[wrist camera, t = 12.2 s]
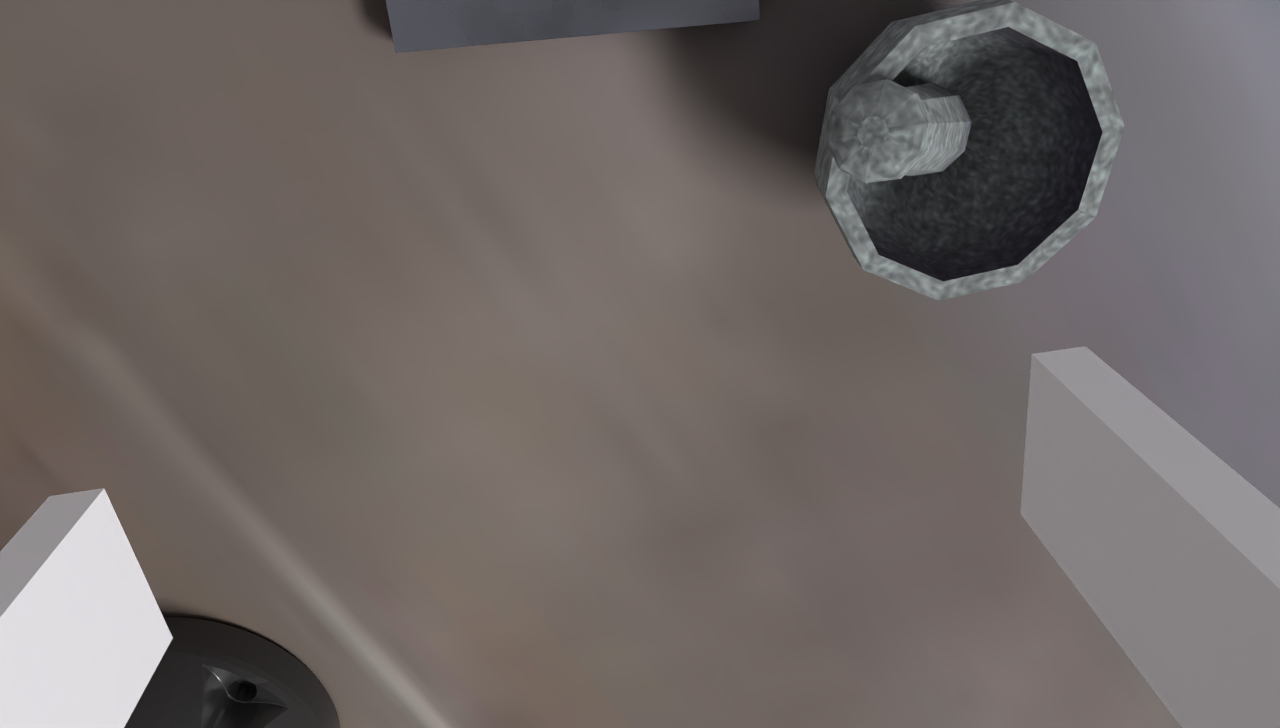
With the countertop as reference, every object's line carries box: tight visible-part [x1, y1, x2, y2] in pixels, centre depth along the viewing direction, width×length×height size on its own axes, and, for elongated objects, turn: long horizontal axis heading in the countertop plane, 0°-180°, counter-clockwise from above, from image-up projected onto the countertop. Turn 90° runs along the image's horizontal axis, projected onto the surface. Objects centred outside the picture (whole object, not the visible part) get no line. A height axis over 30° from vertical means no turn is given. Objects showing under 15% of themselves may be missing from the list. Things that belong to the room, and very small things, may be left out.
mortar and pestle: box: [814, 0, 1125, 300], centre depth 31 cm, size 11×9×12 cm
